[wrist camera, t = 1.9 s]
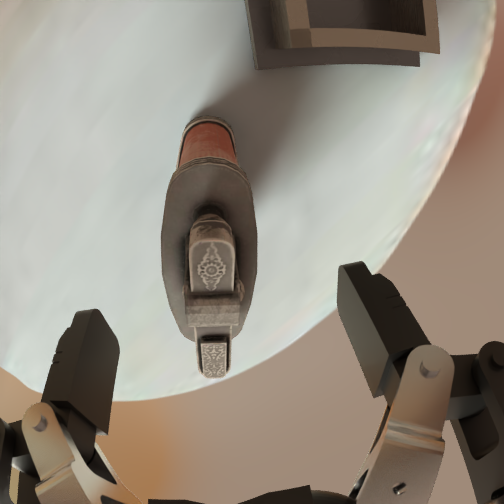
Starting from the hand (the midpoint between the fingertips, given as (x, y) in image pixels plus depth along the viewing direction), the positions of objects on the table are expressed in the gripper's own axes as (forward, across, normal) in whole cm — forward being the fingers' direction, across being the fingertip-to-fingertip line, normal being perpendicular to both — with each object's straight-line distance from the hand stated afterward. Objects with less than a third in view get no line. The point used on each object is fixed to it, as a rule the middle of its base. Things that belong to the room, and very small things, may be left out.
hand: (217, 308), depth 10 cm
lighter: (+9, 0, 0) cm, 9 cm away
